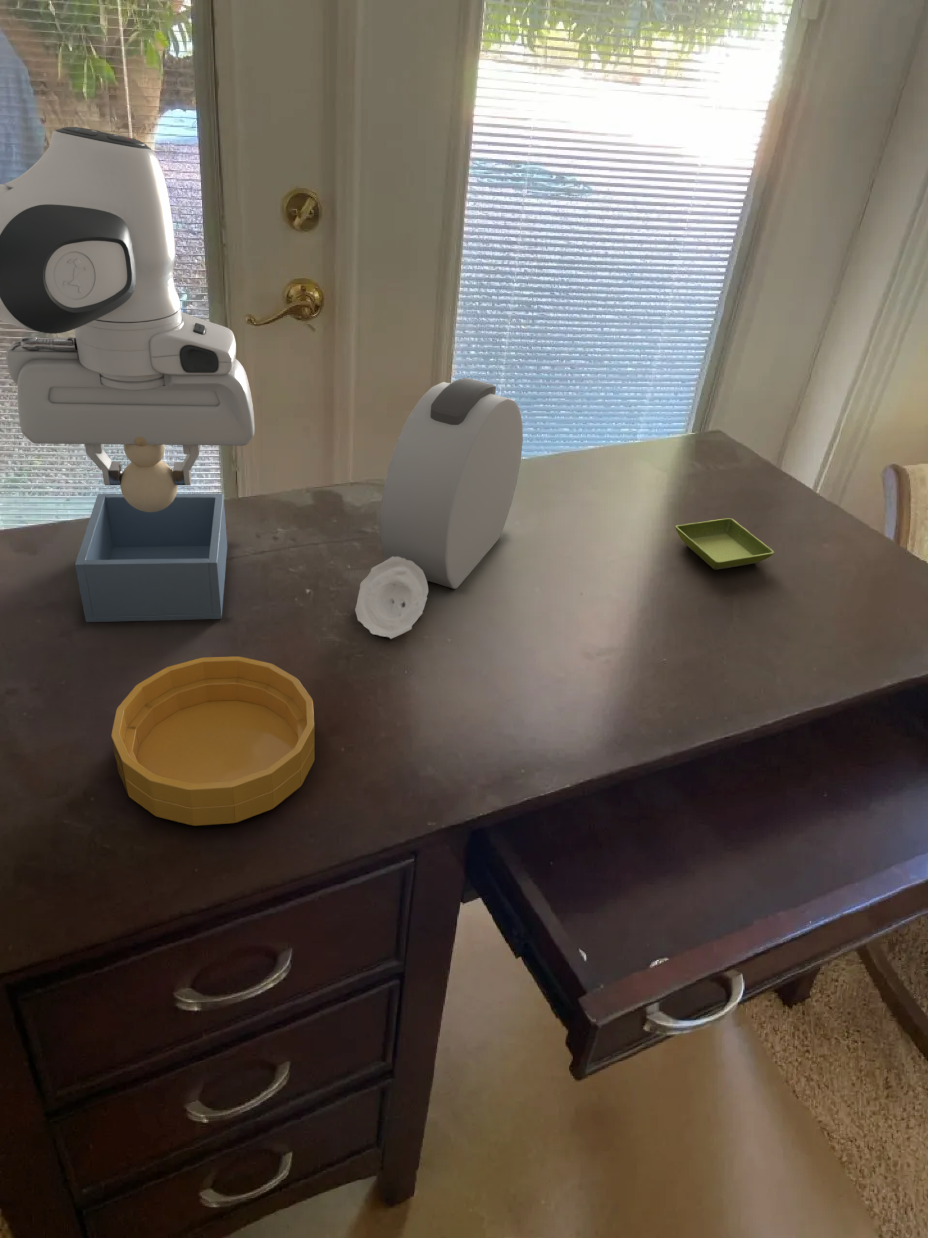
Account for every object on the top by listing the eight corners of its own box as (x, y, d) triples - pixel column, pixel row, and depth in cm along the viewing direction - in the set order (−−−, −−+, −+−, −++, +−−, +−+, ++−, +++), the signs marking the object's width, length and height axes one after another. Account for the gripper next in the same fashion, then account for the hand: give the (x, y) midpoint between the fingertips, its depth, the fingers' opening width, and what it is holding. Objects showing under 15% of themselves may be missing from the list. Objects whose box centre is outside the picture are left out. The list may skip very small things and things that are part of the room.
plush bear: (120, 522, 84) (107, 437, 79) (127, 495, 88) (115, 413, 83) (177, 521, 85) (168, 437, 80) (182, 495, 89) (173, 414, 84)
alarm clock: (457, 505, 111) (472, 349, 99) (513, 521, 109) (535, 364, 97) (376, 587, 94) (383, 411, 83) (439, 608, 92) (456, 431, 81)
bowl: (107, 837, 65) (98, 795, 62) (133, 700, 77) (126, 659, 74) (317, 823, 68) (317, 782, 65) (310, 692, 80) (310, 653, 77)
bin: (85, 622, 85) (74, 564, 81) (106, 547, 96) (97, 493, 92) (221, 619, 87) (216, 562, 84) (227, 546, 98) (223, 493, 94)
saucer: (727, 531, 112) (731, 516, 111) (771, 567, 105) (776, 552, 104) (669, 540, 108) (673, 525, 107) (712, 578, 102) (716, 562, 101)
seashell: (405, 650, 92) (456, 617, 87) (367, 652, 88) (418, 617, 83) (382, 582, 94) (431, 546, 90) (344, 580, 90) (393, 542, 86)
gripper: (-9, 348, 72) (25, 498, 80) (249, 356, 76) (256, 498, 84) (10, 323, 77) (39, 467, 85) (250, 331, 81) (257, 468, 89)
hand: (149, 482), depth 85 cm, fingers closed on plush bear, 5 cm apart
